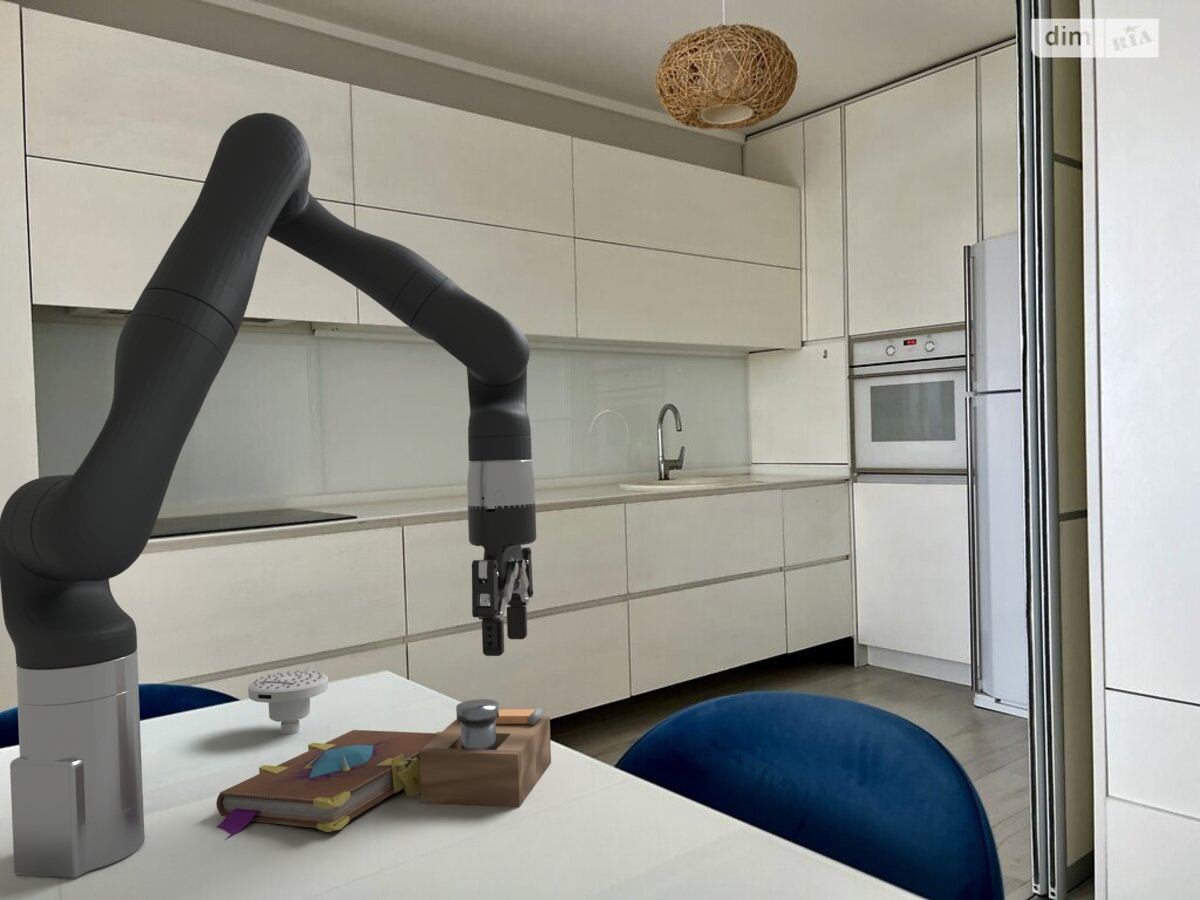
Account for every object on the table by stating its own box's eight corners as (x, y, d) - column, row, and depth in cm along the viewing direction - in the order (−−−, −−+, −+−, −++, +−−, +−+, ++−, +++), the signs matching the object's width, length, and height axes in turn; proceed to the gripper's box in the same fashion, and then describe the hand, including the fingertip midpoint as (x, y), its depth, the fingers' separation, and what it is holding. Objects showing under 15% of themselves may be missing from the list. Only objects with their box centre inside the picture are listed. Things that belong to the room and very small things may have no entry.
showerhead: (345, 664, 116) (297, 684, 106) (347, 720, 116) (299, 746, 106) (282, 661, 119) (230, 681, 109) (284, 716, 119) (233, 741, 109)
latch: (536, 725, 95) (536, 715, 95) (458, 725, 96) (457, 716, 96) (543, 716, 97) (543, 707, 97) (467, 717, 99) (466, 708, 99)
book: (176, 849, 83) (172, 794, 83) (352, 759, 105) (348, 716, 105) (317, 866, 76) (312, 807, 76) (472, 766, 99) (468, 720, 99)
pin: (494, 799, 88) (490, 712, 88) (453, 798, 89) (450, 710, 89) (506, 783, 92) (503, 699, 92) (467, 782, 93) (464, 698, 93)
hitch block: (519, 806, 86) (517, 754, 86) (421, 802, 88) (419, 751, 88) (551, 762, 98) (549, 716, 98) (463, 759, 100) (461, 714, 100)
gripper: (490, 498, 108) (494, 633, 108) (445, 505, 95) (450, 660, 94) (550, 497, 107) (555, 634, 107) (514, 504, 93) (519, 661, 93)
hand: (506, 646), depth 101 cm, fingers open, 8 cm apart
